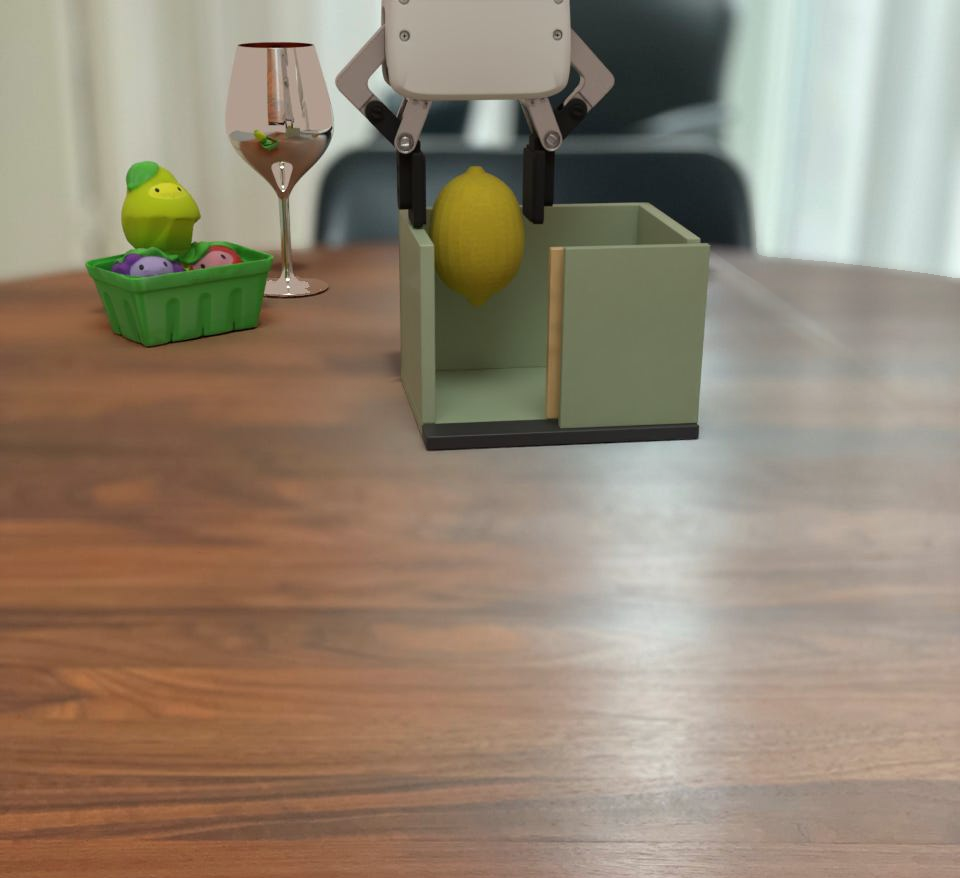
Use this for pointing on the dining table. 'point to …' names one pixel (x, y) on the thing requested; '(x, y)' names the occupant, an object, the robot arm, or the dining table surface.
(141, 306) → the fruit basket
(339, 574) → the dining table surface
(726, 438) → the dining table surface
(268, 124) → the wineglass
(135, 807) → the dining table surface
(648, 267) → the cupboard
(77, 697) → the dining table surface
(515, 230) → the lemon
